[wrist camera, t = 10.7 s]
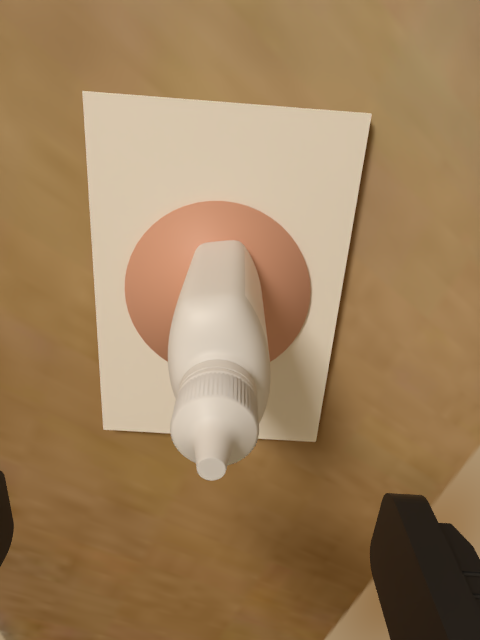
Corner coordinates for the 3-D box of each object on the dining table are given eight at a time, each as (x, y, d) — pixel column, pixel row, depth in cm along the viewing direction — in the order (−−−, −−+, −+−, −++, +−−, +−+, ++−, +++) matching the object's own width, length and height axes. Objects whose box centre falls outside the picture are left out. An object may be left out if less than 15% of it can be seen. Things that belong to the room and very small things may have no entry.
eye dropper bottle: (292, 260, 21) (347, 409, 10) (244, 358, 23) (247, 569, 12) (205, 223, 20) (164, 340, 10) (164, 327, 23) (91, 521, 12)
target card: (87, 92, 19) (80, 90, 18) (367, 113, 19) (373, 113, 19) (106, 421, 26) (102, 431, 25) (314, 434, 26) (316, 444, 25)
